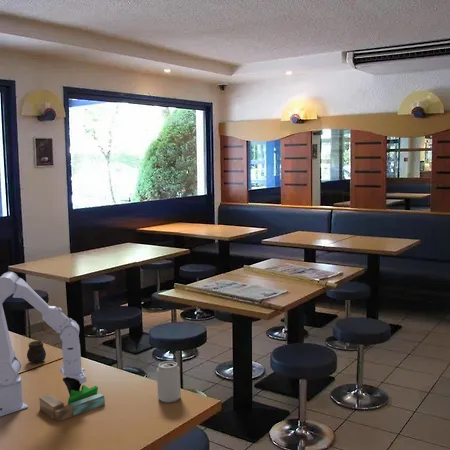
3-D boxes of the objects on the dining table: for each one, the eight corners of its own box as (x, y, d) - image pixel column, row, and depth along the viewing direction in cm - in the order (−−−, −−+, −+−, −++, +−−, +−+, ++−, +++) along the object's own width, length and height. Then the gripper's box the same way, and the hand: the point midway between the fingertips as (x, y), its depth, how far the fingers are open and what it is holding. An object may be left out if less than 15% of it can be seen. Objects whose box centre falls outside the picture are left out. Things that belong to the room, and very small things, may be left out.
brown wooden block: (53, 419, 169) (53, 406, 168) (40, 409, 176) (39, 397, 176) (65, 414, 171) (64, 402, 171) (51, 405, 179) (50, 393, 178)
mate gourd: (36, 357, 224) (34, 334, 223) (50, 360, 221) (49, 336, 220) (23, 363, 218) (21, 339, 216) (38, 366, 215) (36, 341, 213)
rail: (58, 421, 167) (57, 411, 166) (54, 418, 169) (53, 409, 168) (104, 405, 178) (104, 395, 177) (100, 402, 180) (100, 393, 179)
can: (185, 398, 181) (184, 363, 180) (168, 405, 175) (166, 369, 174) (170, 392, 186) (168, 358, 185) (153, 399, 181) (151, 364, 179)
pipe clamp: (88, 393, 185) (90, 381, 184) (96, 398, 183) (98, 387, 182) (61, 405, 176) (63, 393, 175) (68, 411, 174) (71, 399, 173)
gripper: (93, 360, 177) (96, 400, 179) (72, 350, 188) (75, 388, 189) (73, 366, 172) (76, 407, 174) (53, 355, 183) (56, 394, 185)
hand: (74, 398), depth 181 cm, fingers closed
